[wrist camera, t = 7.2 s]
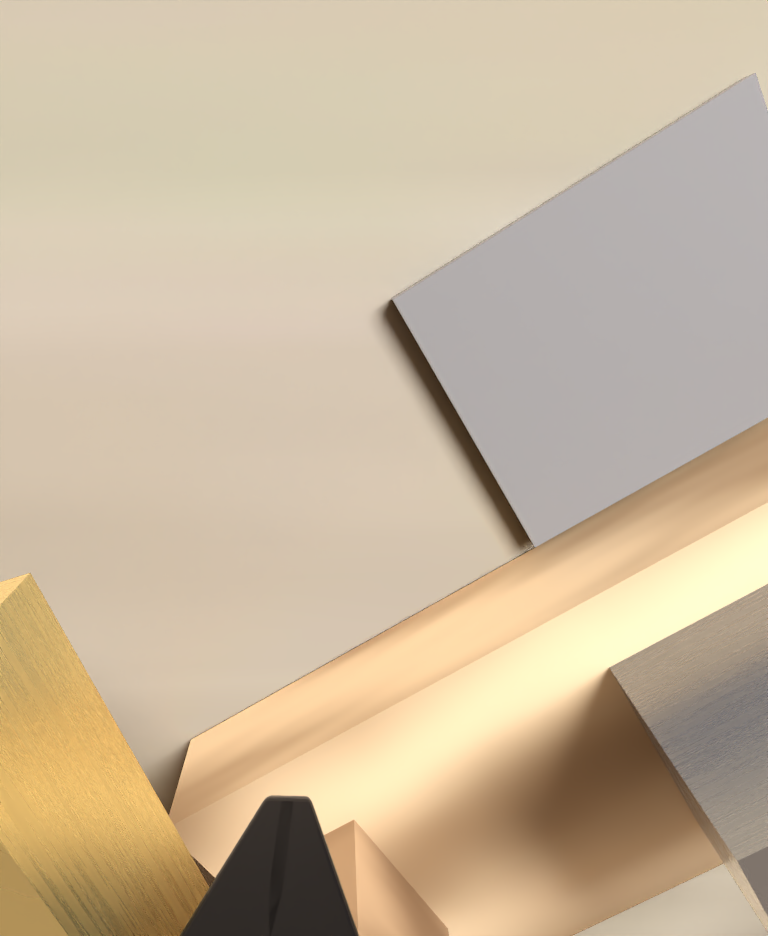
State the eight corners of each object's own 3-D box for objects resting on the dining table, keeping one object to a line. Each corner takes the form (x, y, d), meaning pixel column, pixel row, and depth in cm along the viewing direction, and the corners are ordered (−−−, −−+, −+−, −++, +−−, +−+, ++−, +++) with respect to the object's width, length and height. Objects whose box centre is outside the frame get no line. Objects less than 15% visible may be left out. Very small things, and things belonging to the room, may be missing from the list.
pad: (838, 368, 16) (850, 371, 16) (530, 540, 17) (535, 547, 17) (744, 77, 14) (755, 72, 13) (391, 298, 15) (392, 299, 14)
